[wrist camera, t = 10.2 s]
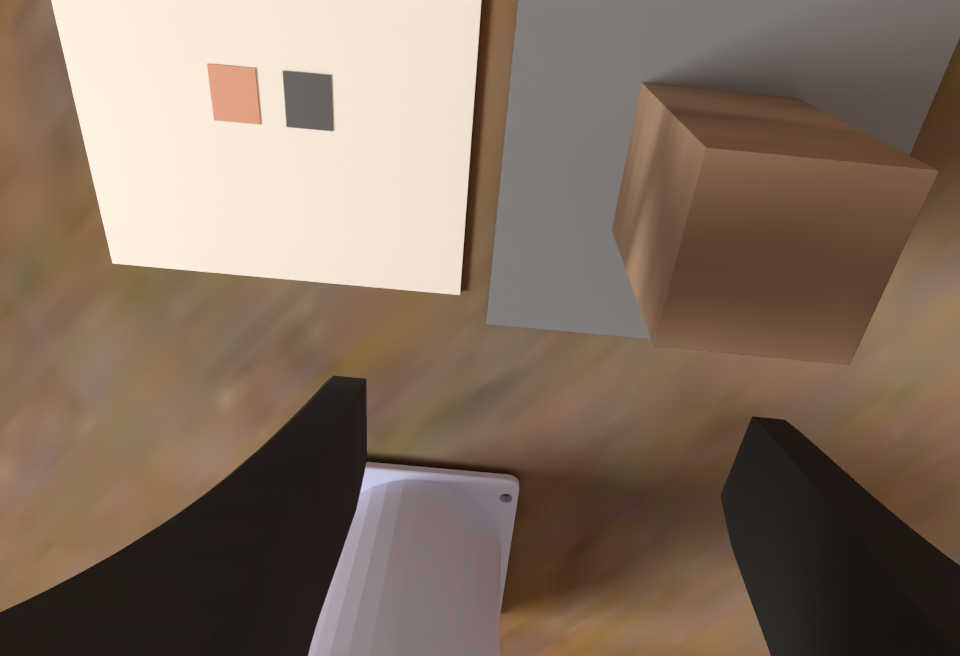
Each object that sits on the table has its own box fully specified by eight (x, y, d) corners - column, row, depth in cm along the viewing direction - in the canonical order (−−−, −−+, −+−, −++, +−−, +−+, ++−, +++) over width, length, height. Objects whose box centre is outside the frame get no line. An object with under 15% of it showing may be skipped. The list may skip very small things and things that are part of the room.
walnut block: (750, 244, 21) (849, 364, 15) (611, 230, 21) (653, 346, 15) (797, 98, 18) (938, 170, 12) (641, 83, 18) (706, 147, 12)
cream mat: (460, 292, 22) (459, 295, 22) (115, 260, 22) (112, 263, 22) (491, -129, 16) (490, -131, 16) (15, -174, 16) (9, -176, 16)
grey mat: (821, 350, 23) (825, 354, 23) (486, 319, 23) (486, 324, 23) (982, -36, 17) (990, -36, 16) (525, -79, 17) (526, -79, 16)
